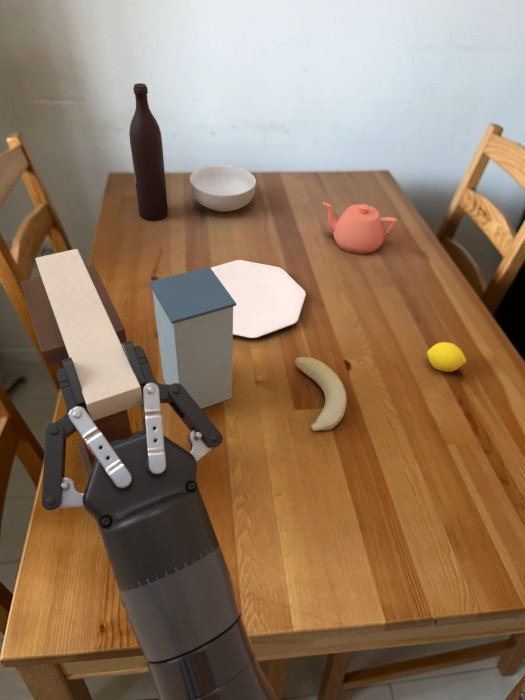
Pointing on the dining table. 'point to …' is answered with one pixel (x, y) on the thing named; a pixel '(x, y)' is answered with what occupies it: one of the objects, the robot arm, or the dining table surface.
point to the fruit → (325, 392)
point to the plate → (260, 297)
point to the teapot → (359, 228)
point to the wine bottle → (147, 159)
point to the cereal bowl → (222, 187)
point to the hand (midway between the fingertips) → (97, 353)
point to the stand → (56, 352)
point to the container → (195, 334)
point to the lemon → (446, 357)
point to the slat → (89, 336)
